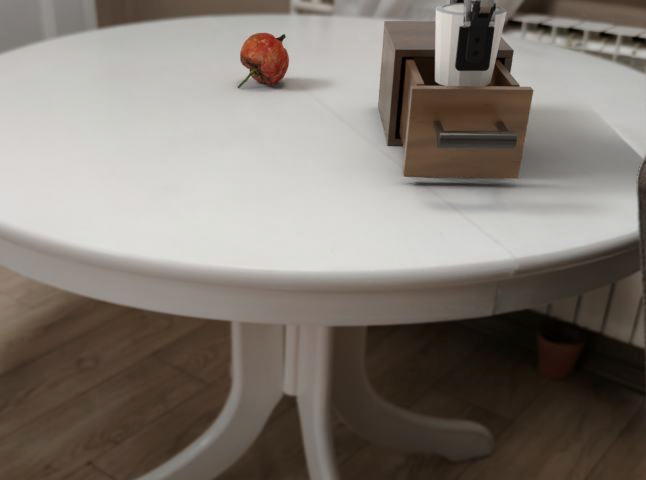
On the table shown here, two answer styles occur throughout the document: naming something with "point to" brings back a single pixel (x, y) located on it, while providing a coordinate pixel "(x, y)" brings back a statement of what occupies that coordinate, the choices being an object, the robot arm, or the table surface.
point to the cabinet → (396, 46)
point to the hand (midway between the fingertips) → (465, 59)
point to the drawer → (462, 124)
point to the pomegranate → (264, 58)
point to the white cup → (446, 47)
